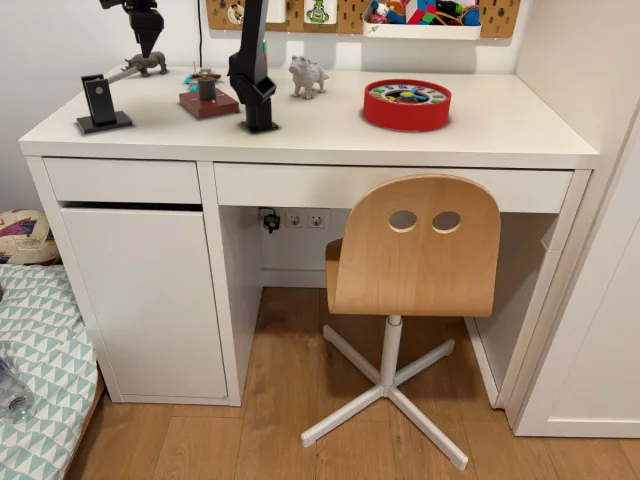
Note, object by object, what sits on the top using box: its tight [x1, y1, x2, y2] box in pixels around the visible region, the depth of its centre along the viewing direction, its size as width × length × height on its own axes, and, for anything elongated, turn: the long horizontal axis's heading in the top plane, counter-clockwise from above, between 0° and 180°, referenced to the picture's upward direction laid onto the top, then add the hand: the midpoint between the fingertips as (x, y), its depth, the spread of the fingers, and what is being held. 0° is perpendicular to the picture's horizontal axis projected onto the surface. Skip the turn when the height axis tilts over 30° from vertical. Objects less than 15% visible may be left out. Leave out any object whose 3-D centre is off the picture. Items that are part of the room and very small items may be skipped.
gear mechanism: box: [184, 61, 222, 92], centre depth 135 cm, size 20×5×9 cm
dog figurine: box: [288, 54, 325, 100], centre depth 125 cm, size 5×13×11 cm, turn 150°
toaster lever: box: [93, 62, 146, 85], centre depth 105 cm, size 12×5×2 cm, turn 123°
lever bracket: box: [75, 73, 133, 135], centre depth 106 cm, size 10×8×10 cm
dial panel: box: [178, 87, 240, 120], centre depth 118 cm, size 13×10×3 cm
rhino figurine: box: [120, 50, 168, 78], centre depth 139 cm, size 4×14×6 cm, turn 130°
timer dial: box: [197, 75, 217, 100], centre depth 116 cm, size 4×4×5 cm
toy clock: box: [362, 78, 453, 133], centre depth 115 cm, size 20×6×20 cm
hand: (142, 50), depth 107 cm, fingers open, 9 cm apart
